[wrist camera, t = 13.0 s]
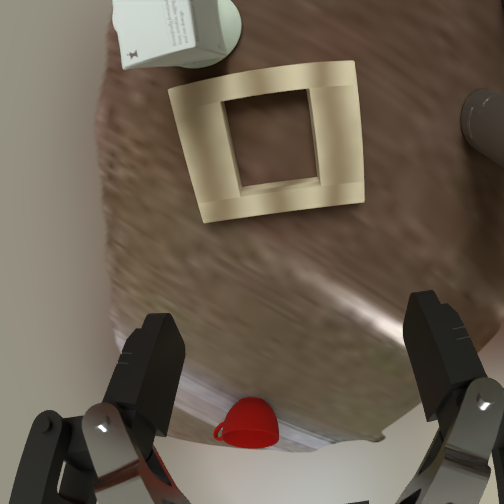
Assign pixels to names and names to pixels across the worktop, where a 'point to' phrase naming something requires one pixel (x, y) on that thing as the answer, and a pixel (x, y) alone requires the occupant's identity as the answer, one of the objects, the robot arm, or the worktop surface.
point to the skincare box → (167, 32)
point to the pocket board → (222, 150)
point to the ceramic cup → (249, 425)
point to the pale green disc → (224, 31)
